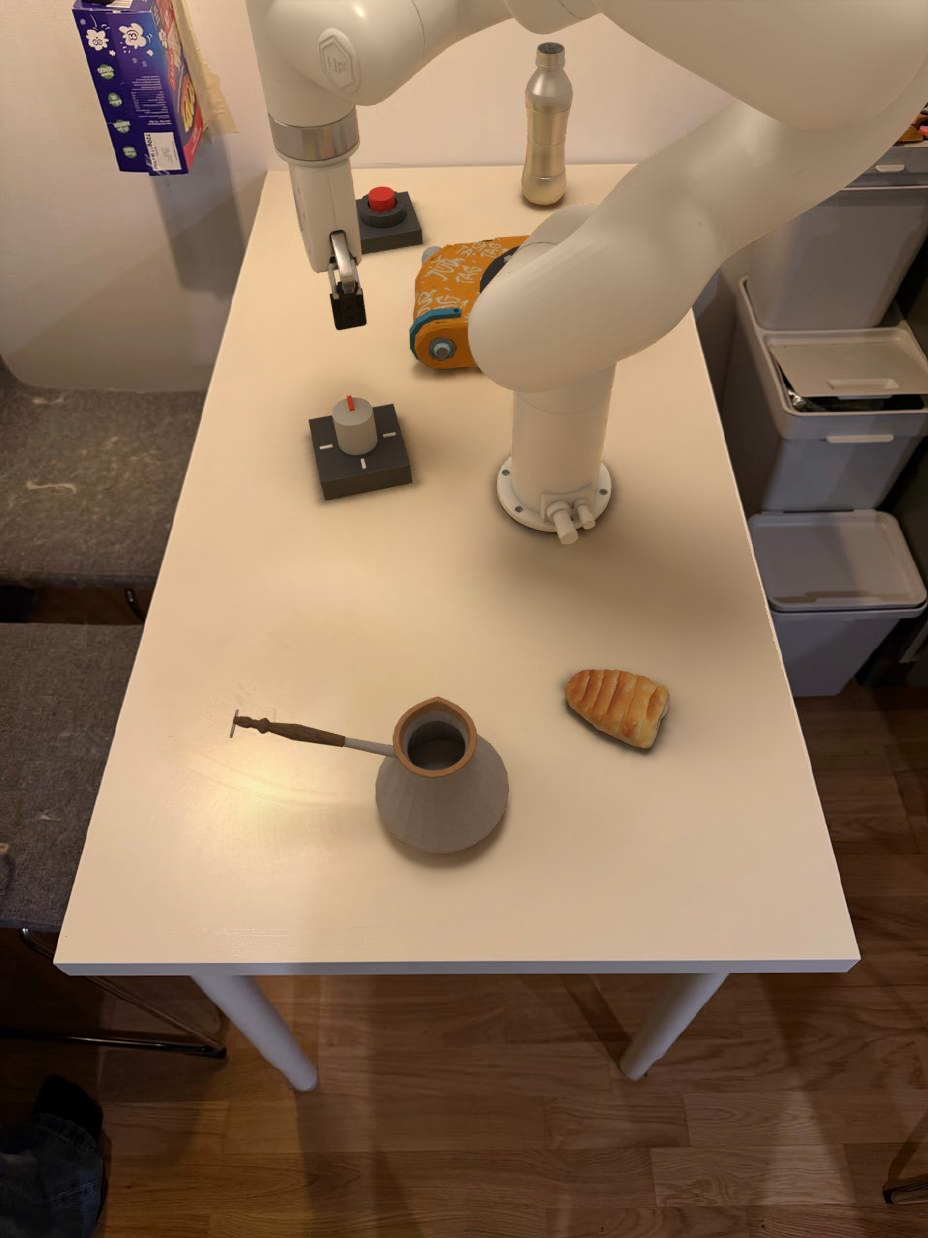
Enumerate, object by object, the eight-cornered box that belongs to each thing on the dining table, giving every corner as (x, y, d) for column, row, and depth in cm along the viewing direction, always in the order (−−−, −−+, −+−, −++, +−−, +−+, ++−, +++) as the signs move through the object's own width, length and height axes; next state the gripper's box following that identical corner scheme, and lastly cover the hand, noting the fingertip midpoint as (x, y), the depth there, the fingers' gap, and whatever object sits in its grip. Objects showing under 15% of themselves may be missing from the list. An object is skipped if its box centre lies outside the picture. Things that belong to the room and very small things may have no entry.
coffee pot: (510, 741, 77) (513, 659, 64) (506, 866, 71) (509, 802, 58) (281, 733, 78) (239, 650, 66) (258, 855, 72) (207, 790, 59)
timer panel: (412, 483, 95) (410, 463, 92) (325, 500, 94) (320, 481, 91) (395, 422, 100) (393, 402, 97) (312, 438, 99) (307, 418, 96)
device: (401, 213, 109) (630, 197, 109) (406, 270, 116) (622, 254, 116) (406, 326, 97) (665, 307, 97) (413, 382, 104) (654, 364, 104)
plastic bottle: (543, 180, 127) (551, 31, 110) (574, 199, 124) (587, 48, 107) (511, 197, 125) (514, 47, 108) (542, 216, 122) (550, 65, 105)
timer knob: (380, 451, 93) (375, 419, 89) (341, 458, 93) (334, 426, 89) (374, 423, 96) (368, 391, 92) (335, 431, 95) (328, 398, 91)
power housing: (422, 243, 119) (420, 217, 116) (360, 254, 118) (356, 227, 115) (409, 205, 124) (406, 178, 121) (349, 214, 124) (345, 188, 120)
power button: (397, 210, 118) (396, 198, 116) (372, 214, 117) (370, 202, 116) (392, 196, 119) (391, 184, 118) (367, 200, 119) (366, 188, 118)
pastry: (553, 720, 78) (556, 701, 75) (577, 662, 81) (581, 642, 78) (651, 756, 76) (658, 738, 73) (672, 695, 79) (679, 675, 76)
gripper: (257, 85, 77) (292, 254, 91) (288, 188, 68) (321, 357, 82) (338, 73, 78) (359, 242, 92) (379, 173, 69) (396, 343, 83)
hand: (341, 296), depth 87 cm, fingers open, 9 cm apart
